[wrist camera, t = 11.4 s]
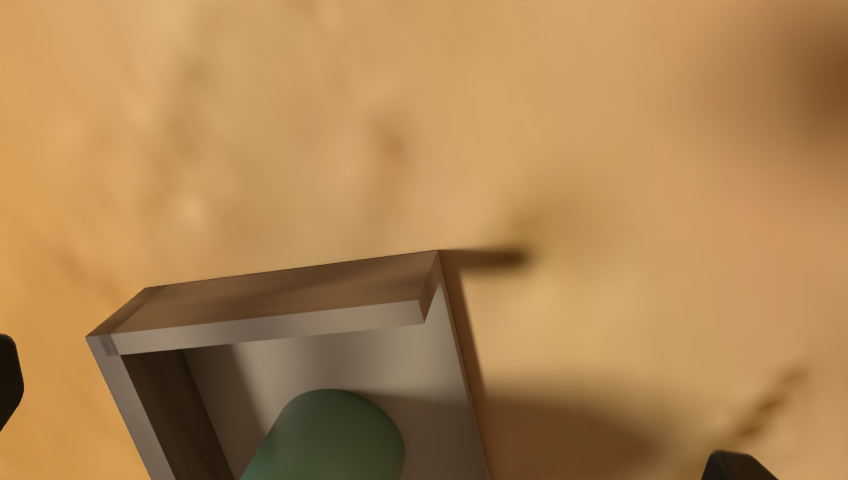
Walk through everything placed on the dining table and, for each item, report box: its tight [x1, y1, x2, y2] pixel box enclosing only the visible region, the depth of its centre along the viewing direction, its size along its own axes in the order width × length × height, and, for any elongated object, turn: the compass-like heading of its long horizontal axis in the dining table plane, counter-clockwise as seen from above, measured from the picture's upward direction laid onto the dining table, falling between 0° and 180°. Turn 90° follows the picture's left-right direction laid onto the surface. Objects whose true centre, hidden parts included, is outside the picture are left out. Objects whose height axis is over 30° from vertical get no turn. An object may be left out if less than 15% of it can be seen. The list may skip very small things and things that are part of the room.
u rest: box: [85, 250, 490, 480], centre depth 25 cm, size 12×15×4 cm
